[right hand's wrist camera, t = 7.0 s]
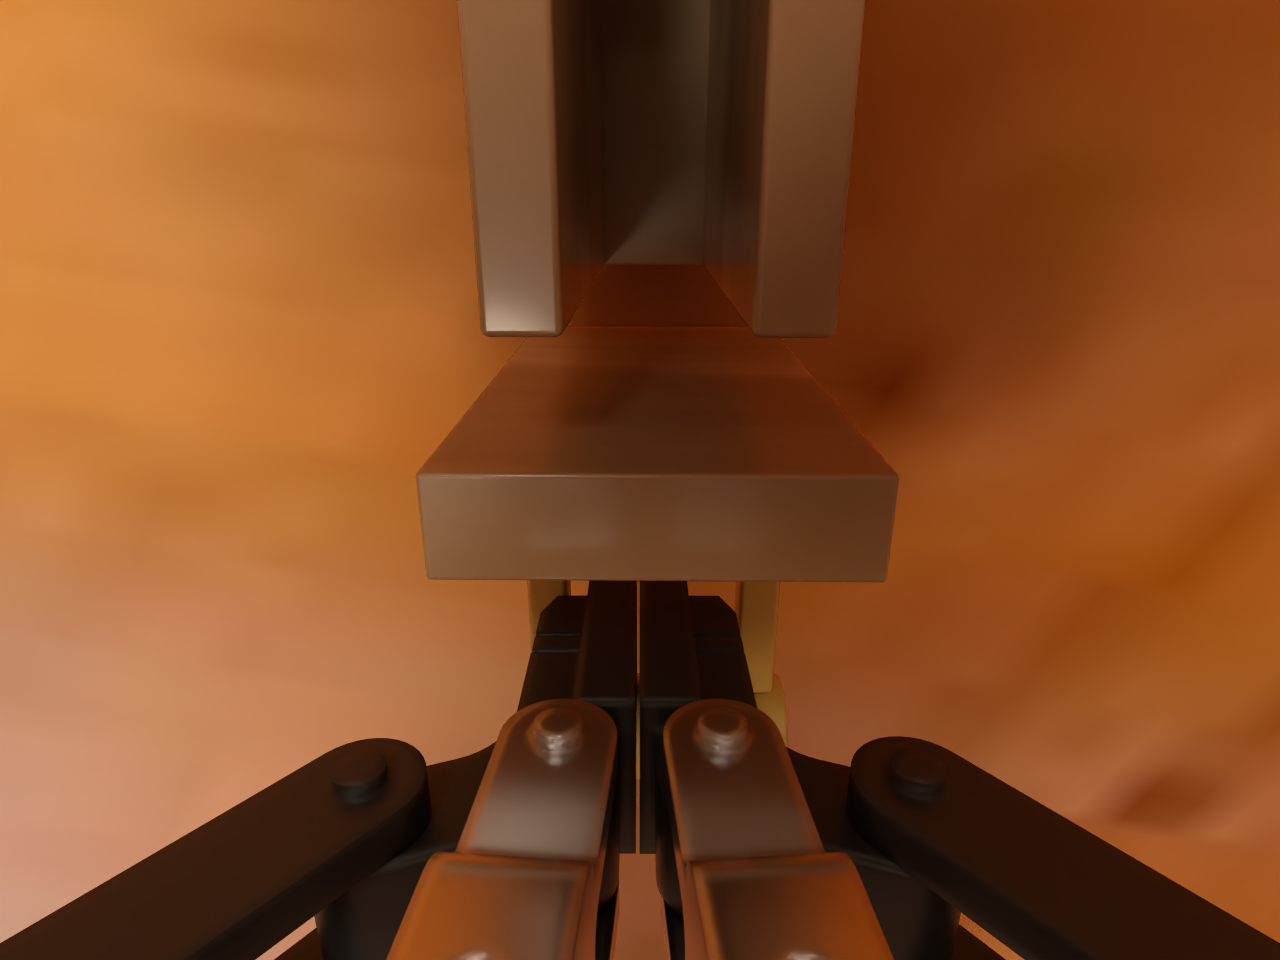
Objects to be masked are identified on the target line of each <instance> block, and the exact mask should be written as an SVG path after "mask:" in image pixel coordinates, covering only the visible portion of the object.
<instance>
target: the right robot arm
mask: <svg viewBox="0 0 1280 960" xmlns="http://www.w3.org/2000/svg"><path fill="white" fill-rule="evenodd" d="M636 734H637V581H607V580H590V581H589V588H588V596H557V597H556V598H555V599H554V600H553V601H552V602H551V603H550V604H549V605H548V606H547V607H546V608H545V609H544V610H543V611H542V612H541V613H540V617H539V621H538V625H537V630H536V636H535V638H534V642H533V647H532V653H531V655H530V659H529V663H528V668H527V672H526V676H525V680H524V685H523V689H522V693H521V697H520V702H519V706H518V710H517V712H516V713H515V714H514V715H513V716H511V717H510V718H509V719H508V720H507V722H506V723H505V724H504V725H503V727H502V729H501V731H500V734H499V736H498V739H497V741H496V742H495V743H493V744H492V745H490V746H489V747H487V748H485V749H483V750H481V751H479V752H477V753H474V754H472V755H469V756H466V757H462V758H459V759H455V760H451V761H446V762H442V763H438V764H433V765H429V766H426V762H425V760H424V757H423V756H422V754H421V753H420V751H418V750H417V749H416V748H415V747H414V746H412V745H410V744H408V743H406V742H403V741H400V740H395V739H389V738H374V739H365V740H359V741H355V742H352V743H348V744H345V745H342V746H340V747H337V748H335V749H333V750H331V751H329V752H327V753H325V754H324V755H322V756H320V757H318V758H317V759H315V760H313V761H312V762H310V763H308V764H306V765H305V766H303V767H301V768H300V769H298V770H296V771H295V772H293V773H291V774H289V775H288V776H286V777H284V778H283V779H281V780H279V781H277V782H276V783H274V784H272V785H271V786H269V787H267V788H265V789H264V790H262V791H260V792H259V793H257V794H255V795H253V796H252V797H250V798H248V799H247V800H245V801H243V802H241V803H240V804H238V805H236V806H235V807H233V808H231V809H229V810H228V811H226V812H224V813H223V814H221V815H219V816H217V817H216V818H214V819H212V820H211V821H209V822H207V823H205V824H204V825H202V826H200V827H199V828H197V829H195V830H193V831H192V832H190V833H188V834H187V835H185V836H183V837H181V838H180V839H178V840H176V841H175V842H173V843H171V844H169V845H168V846H166V847H164V848H163V849H161V850H159V851H158V852H156V853H154V854H152V855H151V856H149V857H147V858H146V859H144V860H142V861H140V862H139V863H137V864H135V865H134V866H132V867H130V868H128V869H127V870H125V871H123V872H122V873H120V874H118V875H116V876H115V877H113V878H111V879H110V880H108V881H106V882H104V883H103V884H101V885H99V886H98V887H96V888H94V889H92V890H91V891H89V892H87V893H86V894H84V895H82V896H80V897H79V898H77V899H75V900H74V901H72V902H70V903H68V904H67V905H65V906H63V907H62V908H60V909H58V910H56V911H55V912H53V913H51V914H50V915H48V916H46V917H44V918H43V919H41V920H39V921H38V922H36V923H34V924H33V925H31V926H29V927H27V928H26V929H24V930H22V931H21V932H19V933H17V934H15V935H14V936H12V937H10V938H9V939H7V940H5V941H3V942H2V943H0V960H255V959H257V958H258V957H259V956H261V955H262V954H263V953H265V952H266V951H267V950H269V949H270V948H272V947H273V946H274V945H276V944H277V943H278V942H280V941H281V940H282V939H284V938H285V937H286V936H288V935H289V934H290V933H292V932H293V931H294V930H296V929H297V928H298V927H300V926H301V925H302V924H304V923H305V922H306V921H308V920H309V919H311V918H312V917H313V916H315V922H316V927H317V928H315V929H314V930H313V931H311V932H310V933H309V934H307V935H306V936H305V937H304V938H302V939H301V940H300V941H298V942H297V943H296V944H294V945H293V946H292V947H290V948H289V949H288V950H286V951H285V952H284V953H282V954H281V955H280V956H278V957H277V958H276V959H274V960H614V952H615V944H616V935H617V926H618V918H619V856H620V853H636ZM640 854H656V880H657V886H658V889H659V892H660V894H661V915H662V924H663V932H664V941H665V950H666V958H667V960H1006V959H1004V958H1003V957H1002V956H1000V955H999V954H998V953H996V952H995V951H994V950H992V949H991V948H990V947H988V946H987V945H986V944H984V943H983V942H982V941H980V940H979V939H978V938H977V937H975V936H974V935H973V934H971V933H970V932H969V931H967V930H966V929H965V928H963V927H962V926H961V925H959V919H960V914H961V913H963V914H964V915H965V916H967V917H968V918H970V919H971V920H972V921H974V922H975V923H976V924H978V925H979V926H980V927H982V928H983V929H984V930H986V931H987V932H988V933H990V934H991V935H992V936H994V937H995V938H996V939H998V940H999V941H1000V942H1002V943H1003V944H1004V945H1006V946H1007V947H1009V948H1010V949H1011V950H1013V951H1014V952H1015V953H1017V954H1018V955H1019V956H1021V957H1022V958H1023V959H1025V960H1280V943H1278V942H1277V941H1275V940H1273V939H1271V938H1270V937H1268V936H1266V935H1265V934H1263V933H1261V932H1260V931H1258V930H1256V929H1254V928H1253V927H1251V926H1249V925H1248V924H1246V923H1244V922H1242V921H1241V920H1239V919H1237V918H1236V917H1234V916H1232V915H1230V914H1229V913H1227V912H1225V911H1224V910H1222V909H1220V908H1218V907H1217V906H1215V905H1213V904H1212V903H1210V902H1208V901H1206V900H1205V899H1203V898H1201V897H1200V896H1198V895H1196V894H1194V893H1193V892H1191V891H1189V890H1188V889H1186V888H1184V887H1182V886H1181V885H1179V884H1177V883H1176V882H1174V881H1172V880H1170V879H1169V878H1167V877H1165V876H1164V875H1162V874H1160V873H1158V872H1157V871H1155V870H1153V869H1152V868H1150V867H1148V866H1146V865H1145V864H1143V863H1141V862H1140V861H1138V860H1136V859H1135V858H1133V857H1131V856H1129V855H1128V854H1126V853H1124V852H1123V851H1121V850H1119V849H1117V848H1116V847H1114V846H1112V845H1111V844H1109V843H1107V842H1105V841H1104V840H1102V839H1100V838H1099V837H1097V836H1095V835H1093V834H1092V833H1090V832H1088V831H1087V830H1085V829H1083V828H1081V827H1080V826H1078V825H1076V824H1075V823H1073V822H1071V821H1069V820H1068V819H1066V818H1064V817H1063V816H1061V815H1059V814H1057V813H1056V812H1054V811H1052V810H1051V809H1049V808H1047V807H1045V806H1044V805H1042V804H1040V803H1039V802H1037V801H1035V800H1033V799H1032V798H1030V797H1028V796H1027V795H1025V794H1023V793H1022V792H1020V791H1018V790H1016V789H1015V788H1013V787H1011V786H1010V785H1008V784H1006V783H1004V782H1003V781H1001V780H999V779H998V778H996V777H994V776H992V775H991V774H989V773H987V772H986V771H984V770H982V769H980V768H979V767H977V766H975V765H974V764H972V763H970V762H968V761H967V760H965V759H963V758H962V757H960V756H958V755H956V754H955V753H953V752H951V751H949V750H947V749H945V748H944V747H942V746H939V745H937V744H934V743H931V742H928V741H925V740H921V739H916V738H911V737H900V736H896V737H884V738H879V739H875V740H872V741H870V742H868V743H866V744H864V745H863V746H862V747H860V748H859V749H858V750H857V751H856V753H855V754H854V756H853V759H852V761H851V767H848V766H844V765H840V764H836V763H831V762H827V761H823V760H818V759H815V758H811V757H808V756H805V755H802V754H800V753H797V752H795V751H793V750H791V749H789V748H787V747H786V746H785V743H784V741H783V738H782V735H781V733H780V731H779V729H778V727H777V725H776V724H775V722H774V721H773V720H772V719H771V718H770V717H769V716H768V715H767V714H765V713H764V712H762V711H761V710H759V709H757V704H756V700H755V696H754V691H753V687H752V682H751V678H750V673H749V669H748V665H747V660H746V656H745V653H744V647H743V643H742V638H741V637H740V629H739V625H738V620H737V616H736V613H735V612H734V611H733V610H732V609H731V608H730V607H729V606H728V605H727V604H726V603H725V602H724V601H723V600H722V599H721V598H720V597H719V596H689V595H688V586H687V581H640Z"/></svg>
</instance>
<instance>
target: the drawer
mask: <svg viewBox="0 0 1280 960" xmlns="http://www.w3.org/2000/svg"><path fill="white" fill-rule="evenodd" d="M457 6H458V20H459V34H460V49H461V63H462V77H463V91H464V105H465V119H466V133H467V147H468V161H469V175H470V189H471V203H472V217H473V231H474V246H475V260H476V274H477V288H478V302H479V316H480V329H481V331H482V333H483V335H486V336H488V337H528V338H527V339H526V340H525V341H524V343H523V344H522V345H521V346H520V347H519V349H518V350H517V351H516V352H515V354H514V355H513V356H512V357H511V358H510V360H509V361H508V362H507V363H506V365H505V366H504V367H503V368H502V369H501V371H500V372H499V373H498V374H497V376H496V377H495V378H494V379H493V381H492V382H491V383H490V384H489V385H488V387H487V388H486V389H485V390H484V392H483V393H482V394H481V395H480V396H479V398H478V399H477V400H476V401H475V403H474V404H473V405H472V406H471V407H470V409H469V410H468V411H467V412H466V414H465V415H464V416H463V417H462V418H461V420H460V421H459V422H458V423H457V425H456V426H455V427H454V428H453V430H452V431H451V432H450V433H449V434H448V436H447V437H446V438H445V439H444V441H443V442H442V443H441V444H440V445H439V447H438V448H437V449H436V450H435V452H434V453H433V454H432V455H431V456H430V458H429V459H428V460H427V461H426V463H425V464H424V465H423V466H422V468H421V469H420V470H419V471H418V472H417V475H416V481H417V491H418V500H419V509H420V519H421V528H422V537H423V547H424V556H425V565H426V575H427V577H428V579H447V580H527V585H528V603H529V620H530V638H531V653H532V647H533V642H534V638H535V636H536V630H537V625H538V621H539V617H540V613H541V612H542V611H543V610H544V609H545V608H546V607H547V606H548V605H549V604H550V603H551V602H552V601H553V600H554V599H555V598H556V597H557V596H571V585H570V580H607V581H736V593H735V613H736V616H737V620H738V625H739V629H740V637H741V638H742V643H743V647H744V653H745V656H746V660H747V665H748V669H749V673H750V678H751V682H752V687H753V691H754V696H755V700H756V704H757V709H759V710H761V711H762V712H764V713H765V714H767V715H768V716H769V717H770V718H771V719H772V720H773V721H774V722H775V724H776V725H777V727H778V729H779V731H780V733H781V735H782V738H783V741H784V743H785V746H786V747H787V745H788V738H787V716H786V706H785V698H784V693H783V688H782V684H781V681H780V679H779V677H778V676H777V675H775V674H773V671H774V657H775V643H776V629H777V615H778V601H779V587H780V582H885V580H886V578H887V570H888V562H889V554H890V547H891V539H892V531H893V523H894V515H895V507H896V499H897V491H898V483H899V477H898V475H897V473H896V472H895V471H894V470H893V469H892V468H891V467H890V465H889V464H888V463H887V462H886V461H885V460H884V458H883V457H882V456H881V455H880V454H879V453H878V452H877V450H876V449H875V448H874V447H873V446H872V445H871V443H870V442H869V441H868V440H867V439H866V438H865V436H864V435H863V434H862V433H861V432H860V431H859V430H858V428H857V427H856V426H855V425H854V424H853V423H852V421H851V420H850V419H849V418H848V417H847V416H846V414H845V413H844V412H843V411H842V410H841V409H840V408H839V406H838V405H837V404H836V403H835V402H834V401H833V399H832V398H831V397H830V396H829V395H828V394H827V392H826V391H825V390H824V389H823V388H822V387H821V386H820V384H819V383H818V382H817V381H816V380H815V379H814V377H813V376H812V375H811V374H810V373H809V372H808V370H807V369H806V368H805V367H804V366H803V365H802V364H801V362H800V361H799V360H798V359H797V358H796V357H795V355H794V354H793V353H792V352H791V351H790V350H789V349H788V347H787V346H786V345H785V344H784V343H783V342H782V340H781V339H780V338H828V337H831V336H833V335H834V333H835V331H836V324H837V313H838V302H839V290H840V279H841V268H842V257H843V246H844V234H845V223H846V212H847V201H848V189H849V178H850V167H851V156H852V145H853V133H854V122H855V111H856V100H857V89H858V77H859V66H860V55H861V44H862V32H863V21H864V10H865V0H457ZM603 265H705V267H706V268H707V270H708V271H709V272H710V274H711V275H712V277H713V278H714V279H715V281H716V282H717V284H718V285H719V286H720V288H721V289H722V291H723V292H724V294H725V295H726V296H727V298H728V299H729V301H730V302H731V303H732V305H733V306H734V308H735V309H736V310H737V312H738V313H739V315H740V316H741V318H742V319H743V320H744V322H745V323H746V325H747V326H748V327H706V326H567V325H568V323H569V322H570V320H571V318H572V317H573V315H574V313H575V312H576V310H577V308H578V307H579V305H580V303H581V302H582V300H583V298H584V297H585V295H586V293H587V292H588V290H589V288H590V287H591V285H592V283H593V282H594V280H595V278H596V277H597V275H598V273H599V272H600V270H601V268H602V267H603ZM523 685H524V683H523ZM522 689H523V687H522ZM636 779H640V673H637V734H636Z"/></svg>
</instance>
